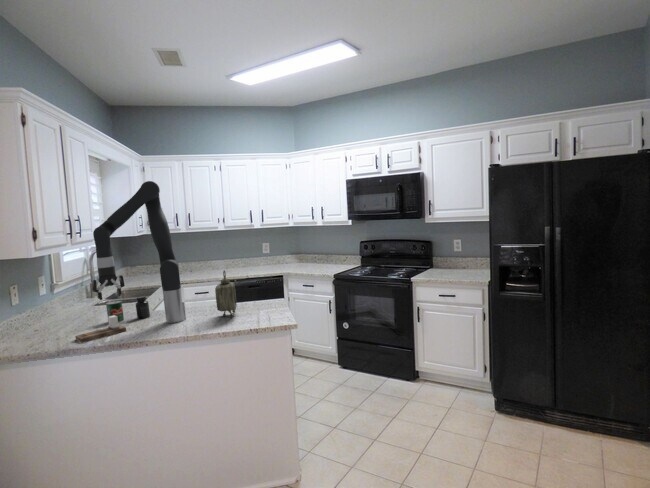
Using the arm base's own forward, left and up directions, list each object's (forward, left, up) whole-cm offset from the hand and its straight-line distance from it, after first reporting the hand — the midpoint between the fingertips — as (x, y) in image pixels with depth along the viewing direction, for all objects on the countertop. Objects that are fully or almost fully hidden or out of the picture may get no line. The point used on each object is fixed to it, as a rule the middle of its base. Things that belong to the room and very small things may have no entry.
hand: (110, 297), depth 194 cm
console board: (+6, 0, -18) cm, 19 cm away
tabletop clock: (-47, +31, -18) cm, 59 cm away
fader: (0, 0, -15) cm, 15 cm away
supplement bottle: (-21, -15, -18) cm, 31 cm away
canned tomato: (-9, -23, -18) cm, 31 cm away
